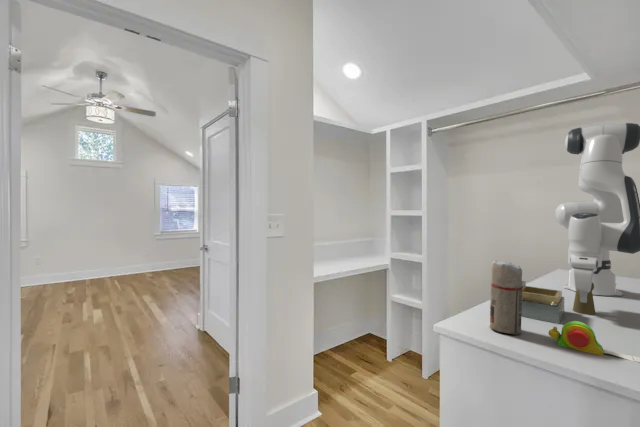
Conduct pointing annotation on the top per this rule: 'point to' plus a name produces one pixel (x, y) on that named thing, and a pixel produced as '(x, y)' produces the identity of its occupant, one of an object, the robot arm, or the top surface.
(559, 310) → the grey wooden box
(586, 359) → the top surface
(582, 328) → the toy measuring tape
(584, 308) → the cork
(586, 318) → the top surface
